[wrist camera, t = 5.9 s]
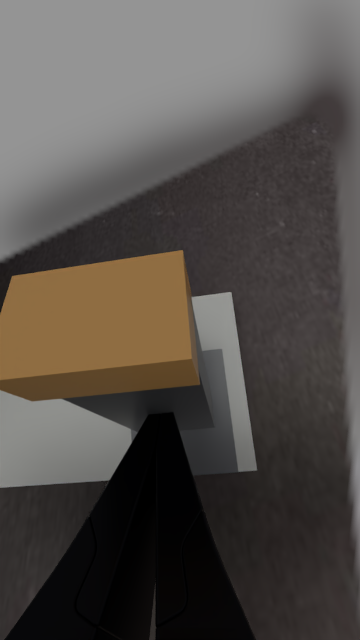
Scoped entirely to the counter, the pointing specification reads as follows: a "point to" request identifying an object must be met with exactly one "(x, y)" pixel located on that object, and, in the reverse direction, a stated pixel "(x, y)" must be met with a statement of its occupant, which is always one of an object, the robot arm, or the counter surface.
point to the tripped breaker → (108, 341)
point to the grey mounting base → (114, 439)
